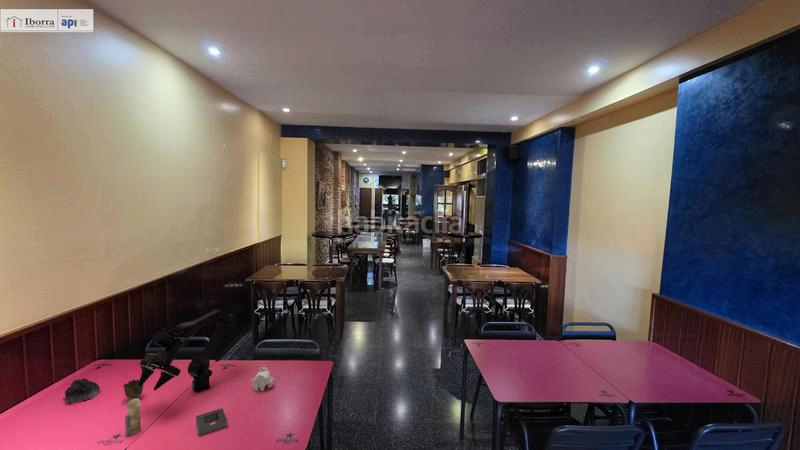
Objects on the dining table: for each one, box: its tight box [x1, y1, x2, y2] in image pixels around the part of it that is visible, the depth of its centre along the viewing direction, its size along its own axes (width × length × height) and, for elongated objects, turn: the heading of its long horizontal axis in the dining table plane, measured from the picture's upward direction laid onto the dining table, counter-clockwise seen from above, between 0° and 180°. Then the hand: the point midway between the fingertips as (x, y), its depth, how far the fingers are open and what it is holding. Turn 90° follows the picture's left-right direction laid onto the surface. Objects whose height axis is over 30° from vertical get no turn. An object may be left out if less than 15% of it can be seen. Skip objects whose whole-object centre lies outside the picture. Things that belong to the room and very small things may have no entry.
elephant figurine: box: [250, 366, 276, 392], centre depth 173 cm, size 10×12×9 cm
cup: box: [123, 378, 144, 401], centre depth 161 cm, size 8×7×8 cm
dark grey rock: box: [64, 378, 101, 404], centre depth 163 cm, size 13×14×10 cm
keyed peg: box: [124, 398, 142, 437], centre depth 139 cm, size 5×4×12 cm
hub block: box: [195, 407, 228, 437], centre depth 144 cm, size 10×10×3 cm
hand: (146, 387), depth 147 cm, fingers open, 9 cm apart
